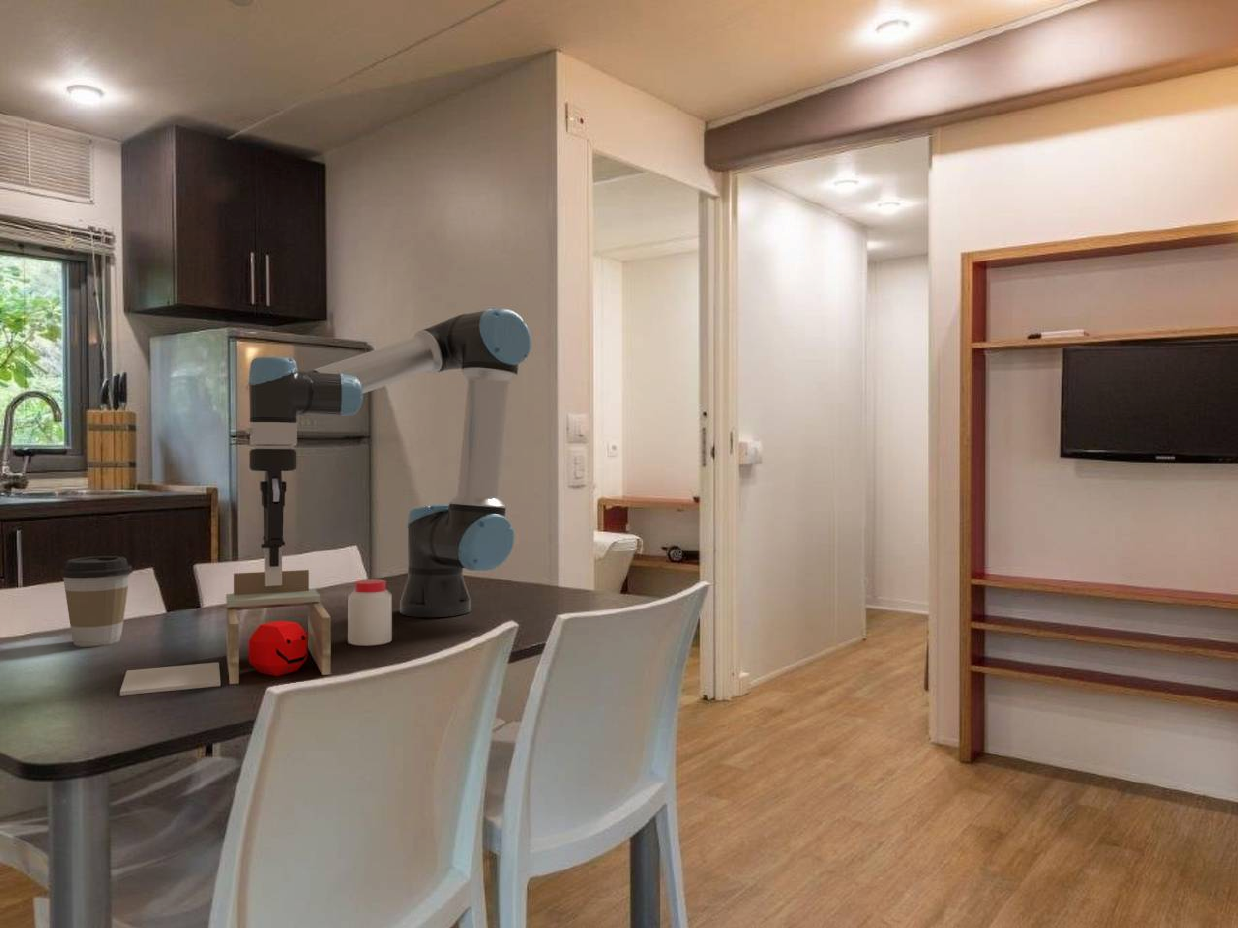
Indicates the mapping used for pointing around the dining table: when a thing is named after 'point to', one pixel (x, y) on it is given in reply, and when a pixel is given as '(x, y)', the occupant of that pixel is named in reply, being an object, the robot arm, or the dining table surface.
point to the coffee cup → (96, 598)
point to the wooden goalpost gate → (316, 636)
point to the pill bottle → (370, 613)
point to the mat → (170, 678)
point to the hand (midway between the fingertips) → (273, 584)
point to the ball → (278, 648)
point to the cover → (271, 590)
